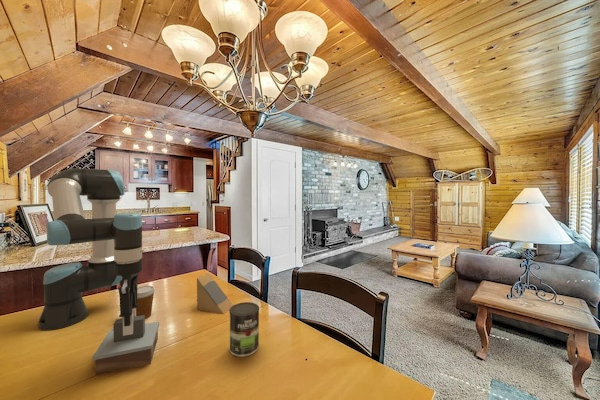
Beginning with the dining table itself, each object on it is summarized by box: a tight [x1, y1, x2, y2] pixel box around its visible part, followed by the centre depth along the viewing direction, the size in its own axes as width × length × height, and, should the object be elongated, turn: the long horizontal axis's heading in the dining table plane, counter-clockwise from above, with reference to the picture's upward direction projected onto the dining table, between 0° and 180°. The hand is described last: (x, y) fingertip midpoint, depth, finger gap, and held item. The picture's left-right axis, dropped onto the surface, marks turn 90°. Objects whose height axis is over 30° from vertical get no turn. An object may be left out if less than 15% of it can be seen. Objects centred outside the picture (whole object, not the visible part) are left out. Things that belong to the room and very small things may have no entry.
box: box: [94, 329, 159, 377], centre depth 81 cm, size 14×14×6 cm
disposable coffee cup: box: [135, 285, 156, 320], centre depth 108 cm, size 10×10×12 cm
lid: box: [91, 315, 160, 361], centre depth 81 cm, size 15×15×7 cm
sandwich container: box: [196, 272, 234, 315], centre depth 117 cm, size 9×15×15 cm, turn 71°
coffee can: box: [228, 301, 260, 358], centre depth 87 cm, size 10×10×14 cm
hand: (129, 331), depth 81 cm, fingers closed on lid, 3 cm apart
